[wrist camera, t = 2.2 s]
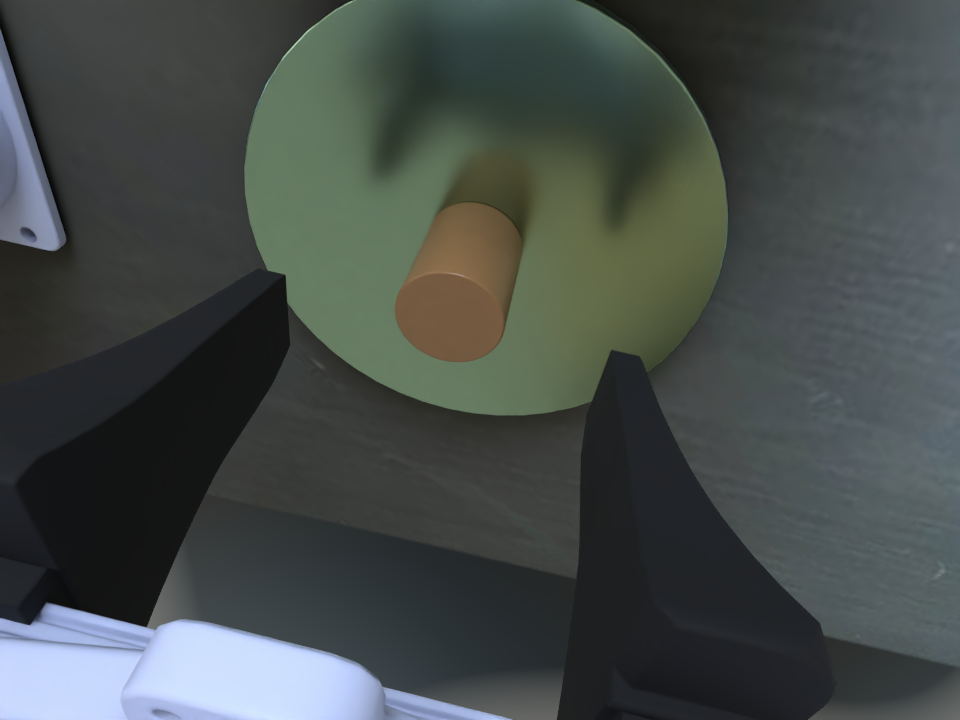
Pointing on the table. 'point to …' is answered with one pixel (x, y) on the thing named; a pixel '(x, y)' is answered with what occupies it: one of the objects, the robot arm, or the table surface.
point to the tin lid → (486, 197)
